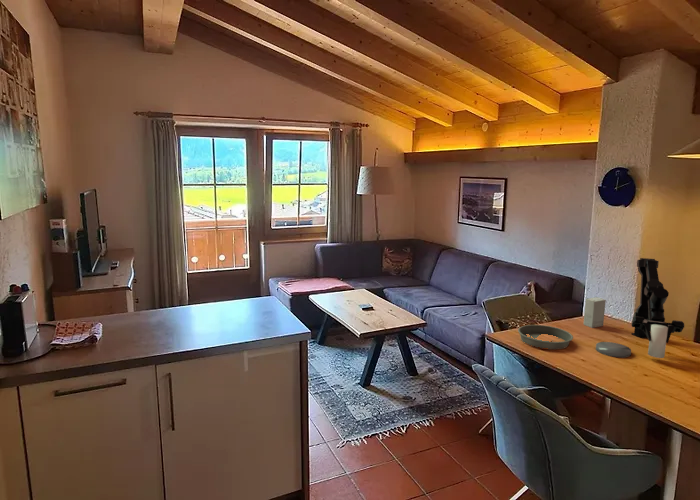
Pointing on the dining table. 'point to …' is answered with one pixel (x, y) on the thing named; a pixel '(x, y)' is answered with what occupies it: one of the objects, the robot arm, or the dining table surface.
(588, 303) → the skincare box
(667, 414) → the dining table surface
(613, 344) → the slate plinth
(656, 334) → the white post
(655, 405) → the dining table surface
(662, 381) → the dining table surface
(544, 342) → the cake pan
